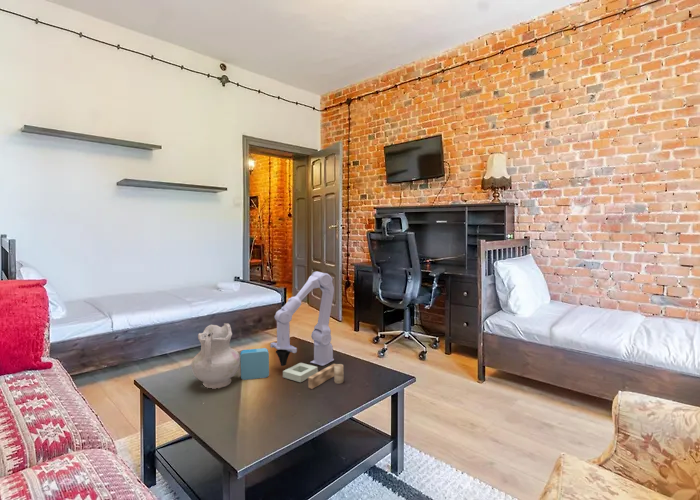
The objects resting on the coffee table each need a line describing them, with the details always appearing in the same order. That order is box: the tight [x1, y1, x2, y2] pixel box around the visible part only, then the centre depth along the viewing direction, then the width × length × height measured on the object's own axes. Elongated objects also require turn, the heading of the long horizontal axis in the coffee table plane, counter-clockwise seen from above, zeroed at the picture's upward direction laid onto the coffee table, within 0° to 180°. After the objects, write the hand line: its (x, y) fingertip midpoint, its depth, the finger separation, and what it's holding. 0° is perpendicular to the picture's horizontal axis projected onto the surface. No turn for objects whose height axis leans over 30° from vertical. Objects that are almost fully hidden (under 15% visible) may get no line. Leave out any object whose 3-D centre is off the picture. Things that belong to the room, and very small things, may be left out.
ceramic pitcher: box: [190, 322, 241, 390], centre depth 160 cm, size 22×20×25 cm
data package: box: [239, 347, 270, 381], centre depth 168 cm, size 12×4×12 cm, turn 106°
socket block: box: [282, 362, 319, 383], centre depth 170 cm, size 12×10×3 cm
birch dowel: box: [333, 363, 344, 385], centre depth 163 cm, size 4×4×7 cm
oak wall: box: [307, 363, 337, 390], centre depth 164 cm, size 18×2×4 cm, turn 147°
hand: (283, 365), depth 175 cm, fingers closed
